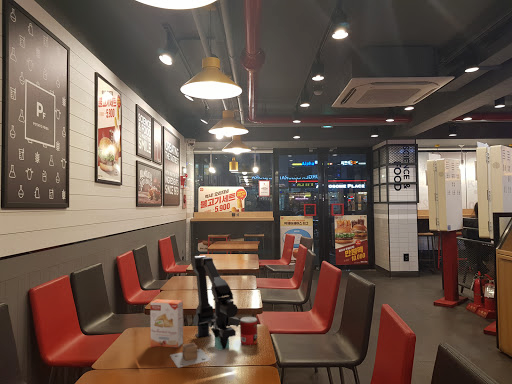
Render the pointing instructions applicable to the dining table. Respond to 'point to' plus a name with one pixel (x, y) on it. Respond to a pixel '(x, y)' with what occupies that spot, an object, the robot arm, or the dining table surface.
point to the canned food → (248, 330)
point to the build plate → (181, 361)
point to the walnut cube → (189, 351)
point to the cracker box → (166, 323)
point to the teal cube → (218, 343)
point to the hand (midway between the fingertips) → (221, 346)
